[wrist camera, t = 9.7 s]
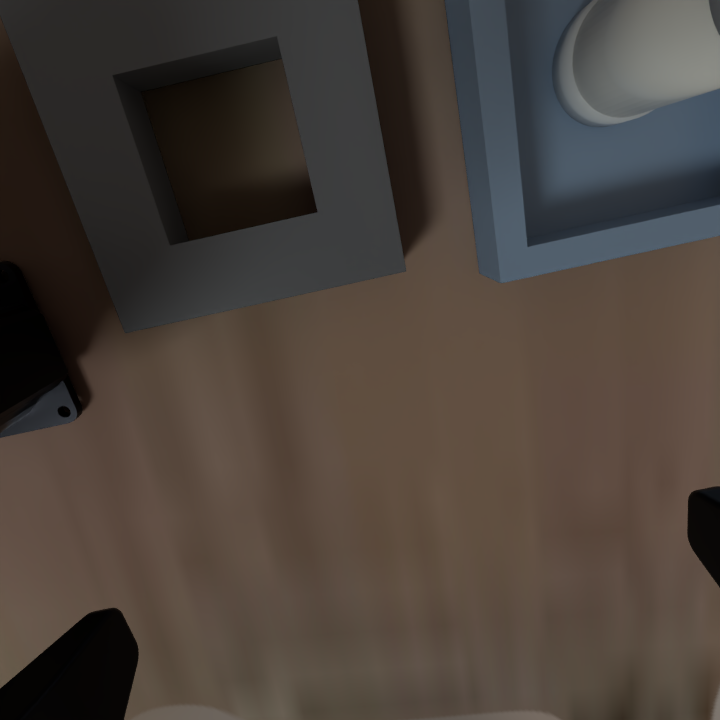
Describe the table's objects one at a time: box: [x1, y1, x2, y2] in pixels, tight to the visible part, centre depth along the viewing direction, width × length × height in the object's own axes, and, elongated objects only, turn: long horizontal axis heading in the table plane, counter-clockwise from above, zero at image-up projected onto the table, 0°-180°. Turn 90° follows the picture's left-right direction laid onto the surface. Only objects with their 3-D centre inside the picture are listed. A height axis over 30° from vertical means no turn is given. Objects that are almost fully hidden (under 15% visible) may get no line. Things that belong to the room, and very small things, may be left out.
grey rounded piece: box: [552, 0, 720, 127], centre depth 11 cm, size 4×4×8 cm
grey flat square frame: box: [0, 0, 406, 333], centre depth 15 cm, size 10×10×2 cm
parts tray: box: [445, 0, 720, 283], centre depth 14 cm, size 10×12×2 cm
